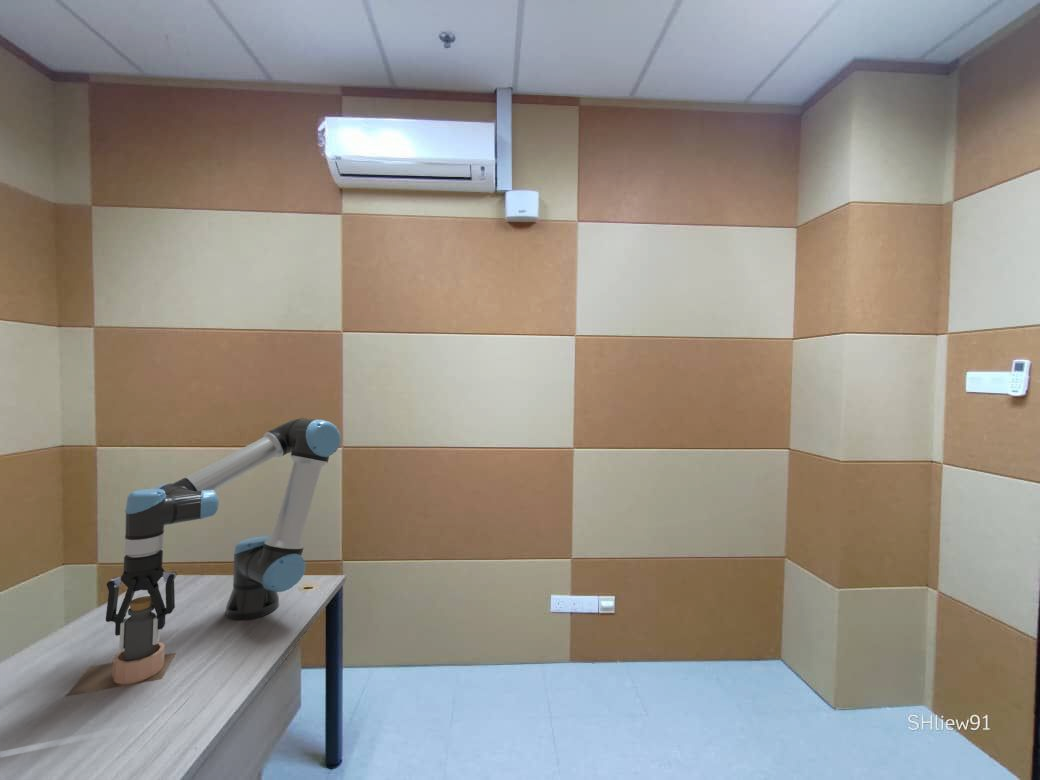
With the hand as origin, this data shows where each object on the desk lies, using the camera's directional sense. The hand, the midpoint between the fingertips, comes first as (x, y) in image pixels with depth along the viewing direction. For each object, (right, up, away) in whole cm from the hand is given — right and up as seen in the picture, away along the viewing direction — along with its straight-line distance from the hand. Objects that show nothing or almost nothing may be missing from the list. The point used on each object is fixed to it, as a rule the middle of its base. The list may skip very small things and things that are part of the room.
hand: (140, 644), depth 113 cm
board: (-3, -8, 0) cm, 9 cm away
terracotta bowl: (0, -7, 0) cm, 7 cm away
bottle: (0, -4, 0) cm, 4 cm away
